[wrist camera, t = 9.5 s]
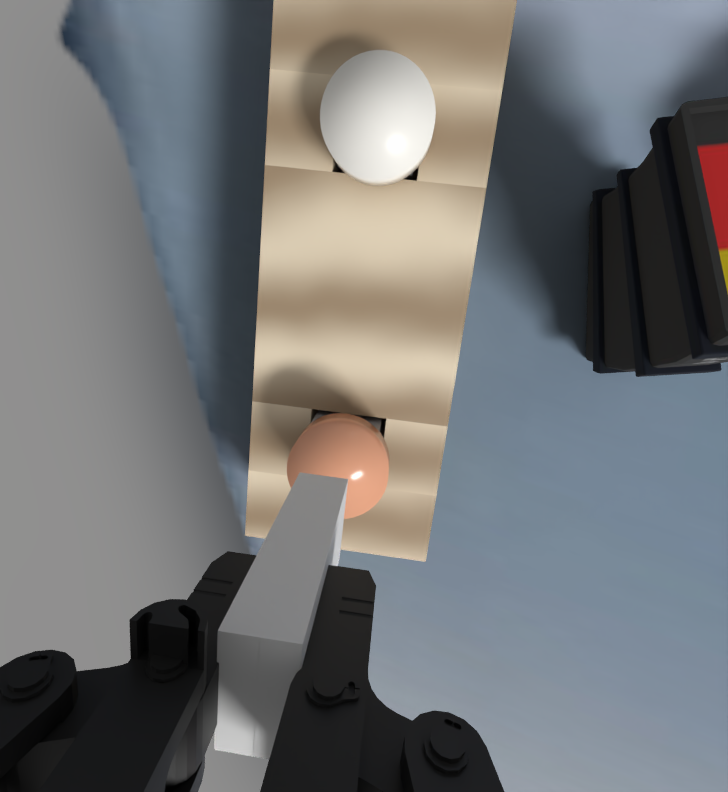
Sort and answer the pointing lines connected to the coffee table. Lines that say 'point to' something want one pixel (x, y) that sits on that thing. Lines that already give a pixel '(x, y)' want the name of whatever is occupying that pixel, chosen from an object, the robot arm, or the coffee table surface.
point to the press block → (370, 254)
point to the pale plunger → (378, 117)
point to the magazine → (664, 252)
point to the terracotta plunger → (344, 456)
